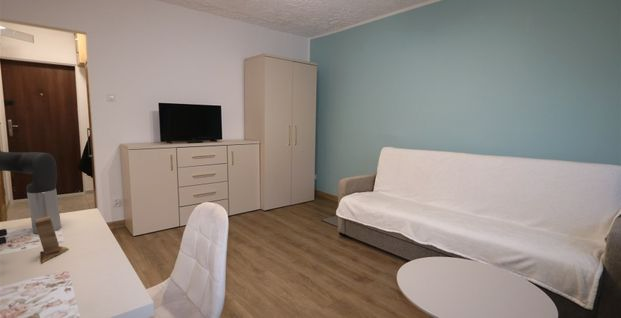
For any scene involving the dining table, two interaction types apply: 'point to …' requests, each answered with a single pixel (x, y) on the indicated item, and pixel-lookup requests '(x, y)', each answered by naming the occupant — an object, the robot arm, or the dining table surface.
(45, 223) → the pillar
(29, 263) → the dining table surface
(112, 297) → the dining table surface
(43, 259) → the shard
